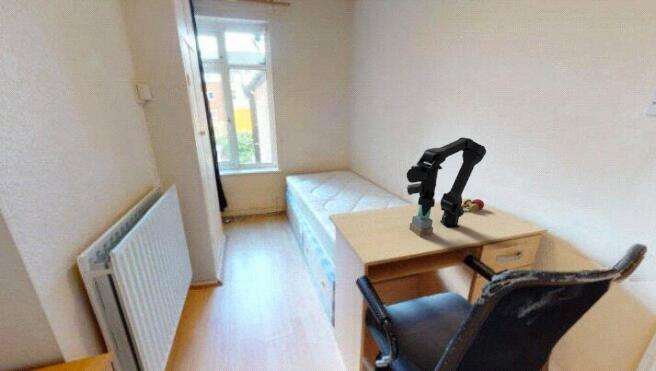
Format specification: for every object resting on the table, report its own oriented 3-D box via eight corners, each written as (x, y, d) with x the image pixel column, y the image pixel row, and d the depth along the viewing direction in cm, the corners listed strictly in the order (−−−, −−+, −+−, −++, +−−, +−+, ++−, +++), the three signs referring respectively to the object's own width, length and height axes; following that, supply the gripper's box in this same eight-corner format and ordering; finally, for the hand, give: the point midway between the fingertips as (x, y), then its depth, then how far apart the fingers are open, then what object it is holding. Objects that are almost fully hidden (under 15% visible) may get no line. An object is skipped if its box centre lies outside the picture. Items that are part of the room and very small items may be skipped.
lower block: (421, 227, 119) (422, 220, 118) (432, 234, 113) (433, 227, 112) (409, 229, 117) (410, 222, 116) (419, 237, 111) (420, 230, 110)
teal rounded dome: (426, 212, 115) (427, 203, 114) (431, 217, 110) (433, 208, 109) (415, 213, 115) (417, 204, 113) (420, 218, 110) (422, 208, 108)
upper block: (422, 221, 118) (423, 214, 117) (431, 227, 112) (432, 220, 111) (411, 223, 116) (412, 216, 115) (420, 229, 111) (421, 222, 109)
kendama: (457, 216, 134) (488, 210, 136) (456, 205, 133) (487, 199, 135) (448, 212, 142) (478, 207, 144) (447, 201, 141) (477, 196, 142)
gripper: (411, 172, 118) (407, 202, 123) (407, 183, 102) (403, 218, 107) (436, 174, 114) (431, 206, 119) (437, 187, 98) (431, 223, 103)
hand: (424, 213), depth 112 cm, fingers closed on teal rounded dome, 5 cm apart
